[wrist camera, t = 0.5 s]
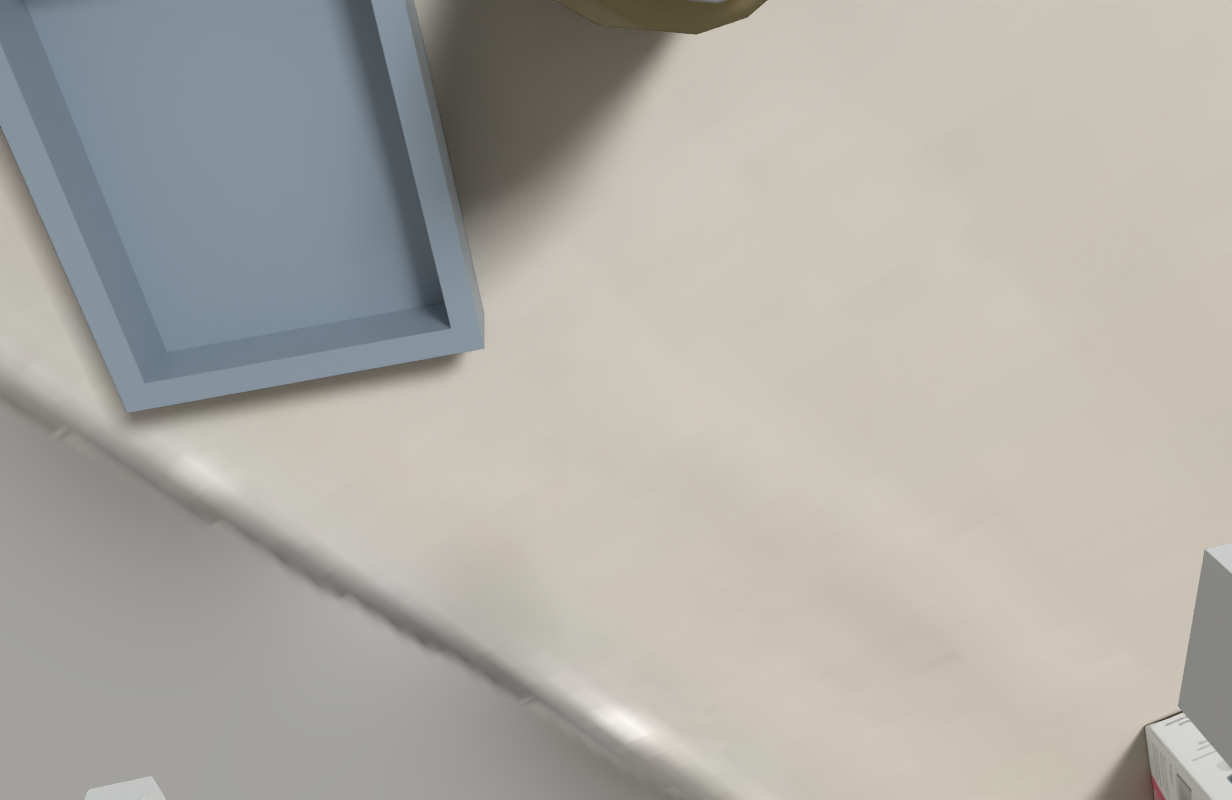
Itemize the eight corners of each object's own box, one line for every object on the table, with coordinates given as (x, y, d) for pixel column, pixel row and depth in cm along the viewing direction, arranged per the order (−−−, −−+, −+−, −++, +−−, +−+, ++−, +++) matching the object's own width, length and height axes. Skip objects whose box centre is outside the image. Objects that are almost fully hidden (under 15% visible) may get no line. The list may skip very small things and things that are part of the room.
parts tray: (-35, -81, 30) (-90, -80, 27) (380, -147, 30) (369, -152, 27) (154, 373, 37) (127, 412, 34) (484, 314, 38) (484, 348, 35)
